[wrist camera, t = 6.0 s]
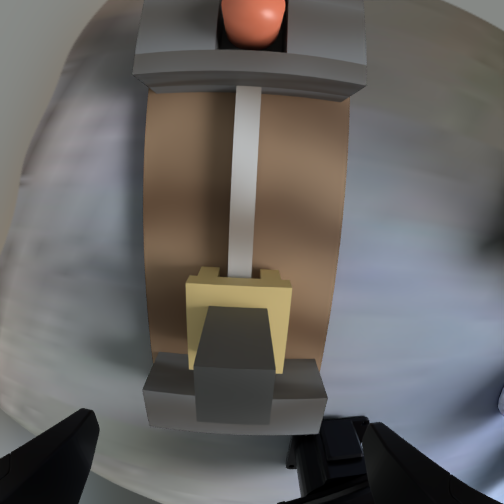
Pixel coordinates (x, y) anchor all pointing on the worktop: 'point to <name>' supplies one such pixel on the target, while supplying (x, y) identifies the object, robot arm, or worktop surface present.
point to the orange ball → (252, 22)
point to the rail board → (245, 184)
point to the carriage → (236, 343)
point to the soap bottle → (501, 403)
